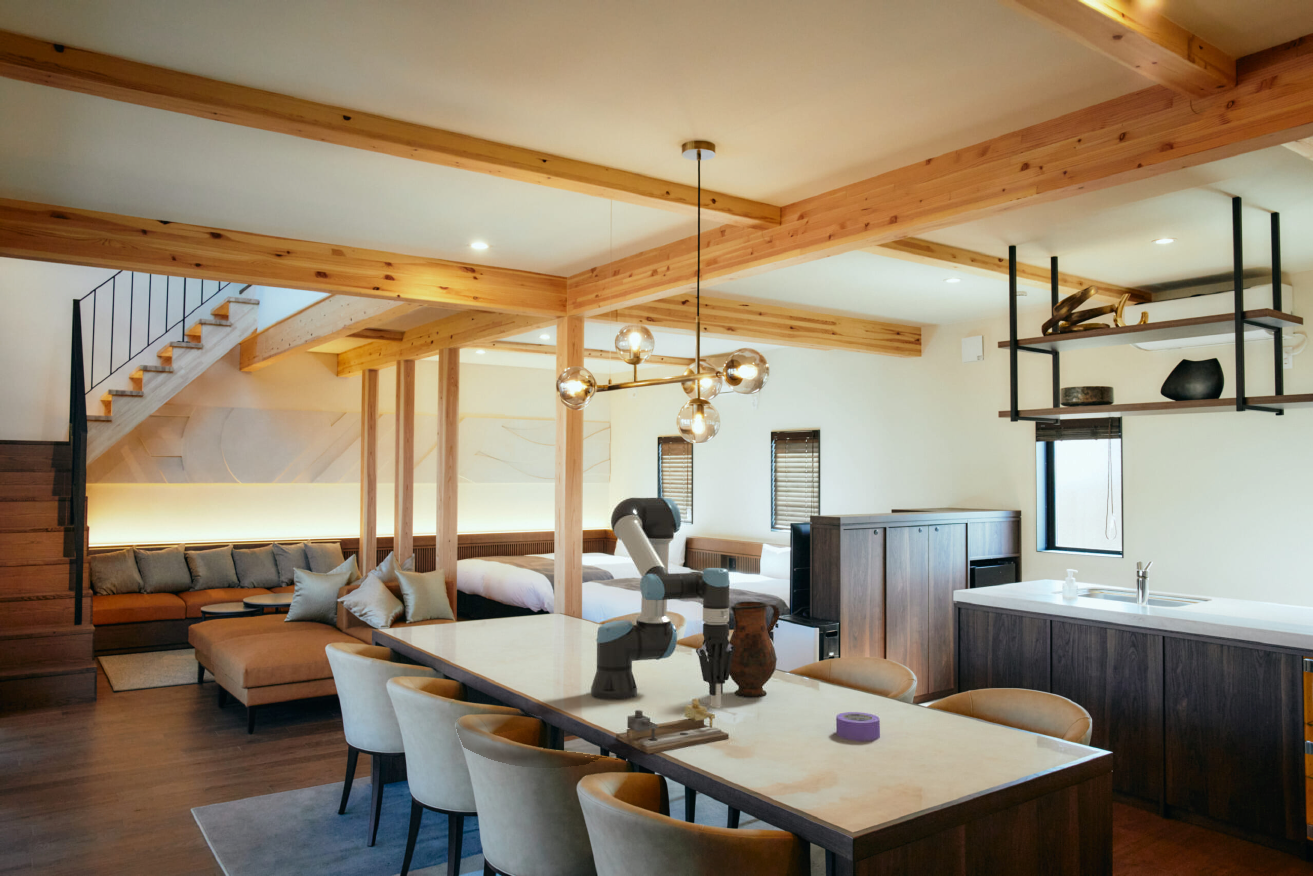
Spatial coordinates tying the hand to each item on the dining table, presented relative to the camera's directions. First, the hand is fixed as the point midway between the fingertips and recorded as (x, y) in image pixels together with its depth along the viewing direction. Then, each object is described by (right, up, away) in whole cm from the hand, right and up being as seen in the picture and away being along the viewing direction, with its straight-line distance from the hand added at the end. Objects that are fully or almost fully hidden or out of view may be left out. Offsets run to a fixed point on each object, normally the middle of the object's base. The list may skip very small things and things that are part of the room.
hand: (715, 706), depth 242 cm
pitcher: (+16, -9, +41) cm, 44 cm away
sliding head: (-4, -3, -6) cm, 8 cm away
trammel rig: (-13, -5, -12) cm, 18 cm away
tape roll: (+39, -6, -7) cm, 40 cm away
